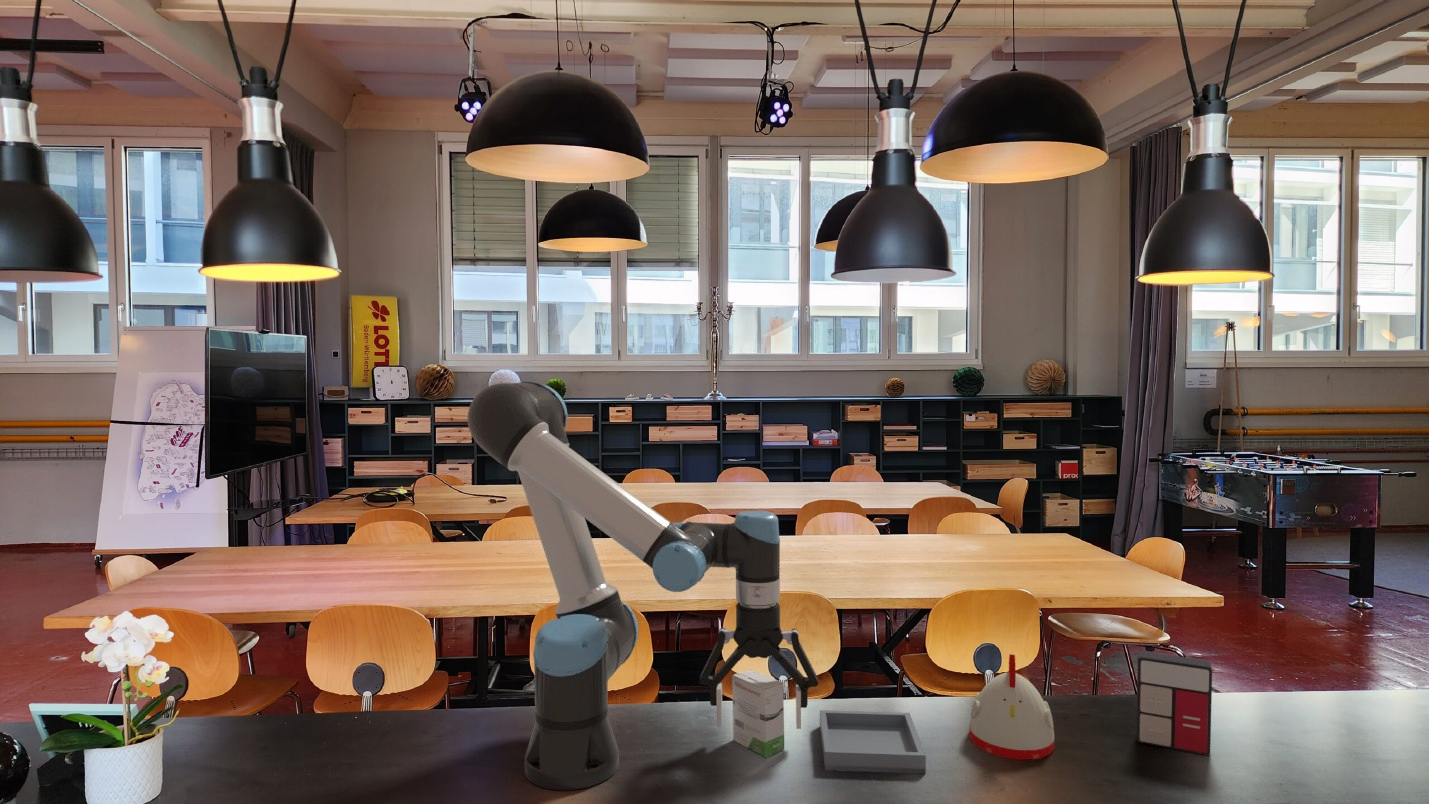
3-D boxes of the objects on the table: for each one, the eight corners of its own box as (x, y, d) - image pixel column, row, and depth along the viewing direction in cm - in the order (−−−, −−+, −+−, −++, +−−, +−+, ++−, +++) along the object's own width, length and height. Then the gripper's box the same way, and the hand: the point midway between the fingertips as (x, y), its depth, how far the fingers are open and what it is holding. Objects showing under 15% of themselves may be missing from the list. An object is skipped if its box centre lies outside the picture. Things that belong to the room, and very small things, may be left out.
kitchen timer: (968, 752, 137) (969, 665, 136) (970, 718, 150) (971, 639, 149) (1057, 765, 132) (1058, 674, 132) (1051, 729, 145) (1052, 647, 145)
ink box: (785, 749, 138) (786, 681, 137) (764, 758, 134) (764, 688, 134) (752, 732, 144) (752, 666, 144) (730, 740, 141) (730, 673, 141)
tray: (824, 769, 131) (824, 751, 130) (819, 726, 146) (819, 710, 146) (925, 773, 129) (925, 755, 129) (909, 729, 145) (909, 712, 145)
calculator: (1136, 743, 139) (1137, 658, 139) (1136, 733, 143) (1137, 650, 143) (1210, 757, 134) (1212, 669, 134) (1208, 747, 138) (1210, 660, 137)
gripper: (682, 607, 136) (684, 732, 136) (832, 609, 134) (833, 735, 134) (687, 595, 143) (689, 713, 144) (829, 597, 141) (830, 716, 142)
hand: (758, 724), depth 139 cm, fingers open, 13 cm apart
